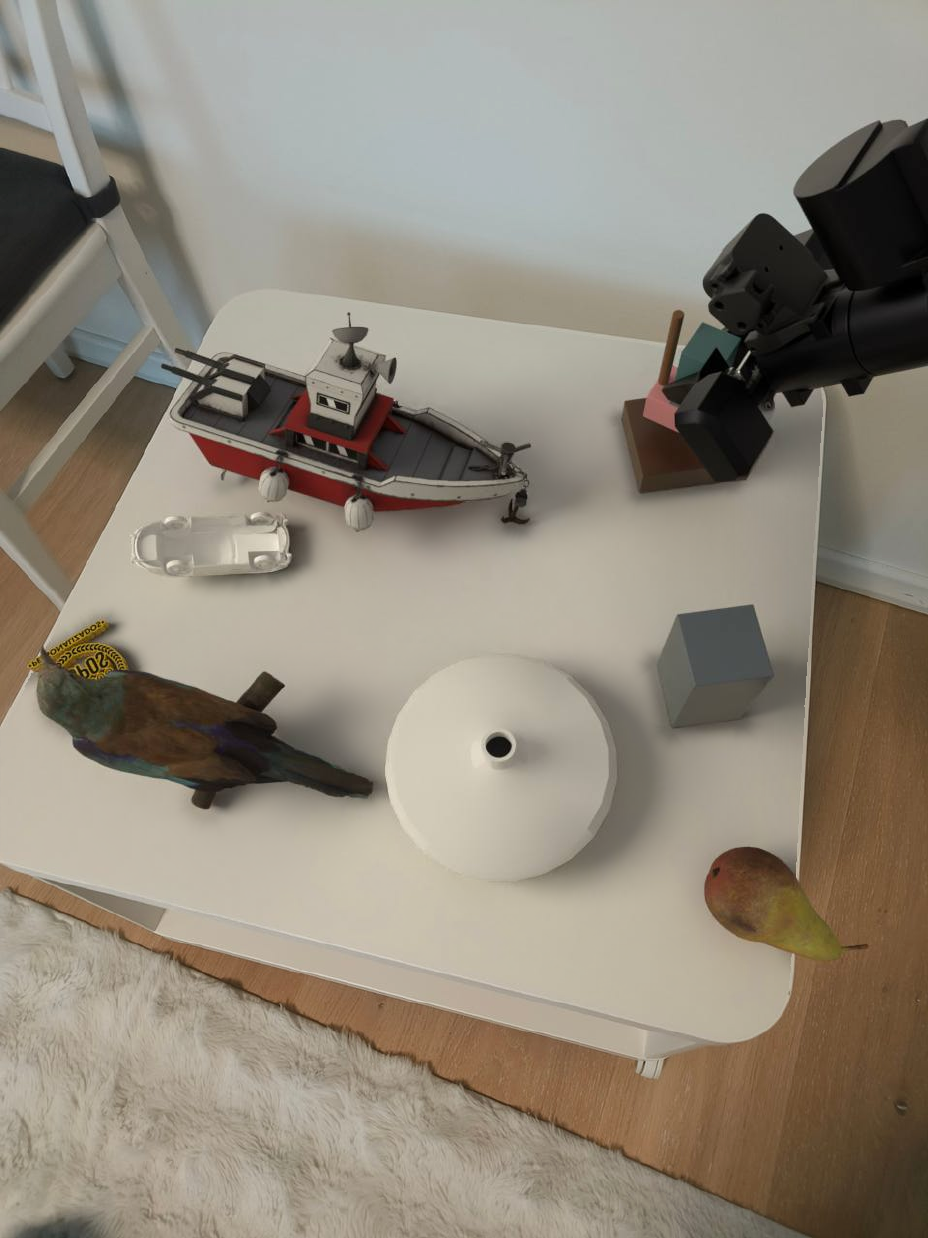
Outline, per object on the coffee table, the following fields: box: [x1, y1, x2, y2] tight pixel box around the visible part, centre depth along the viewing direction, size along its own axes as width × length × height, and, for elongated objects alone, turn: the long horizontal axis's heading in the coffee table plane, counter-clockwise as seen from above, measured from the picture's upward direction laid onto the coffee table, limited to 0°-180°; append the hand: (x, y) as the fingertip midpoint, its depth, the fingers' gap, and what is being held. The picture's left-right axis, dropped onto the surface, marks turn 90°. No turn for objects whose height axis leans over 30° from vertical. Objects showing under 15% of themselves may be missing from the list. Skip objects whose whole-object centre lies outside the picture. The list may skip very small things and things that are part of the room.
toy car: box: [129, 511, 292, 578], centre depth 67 cm, size 5×12×4 cm, turn 99°
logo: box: [27, 619, 130, 680], centre depth 65 cm, size 7×1×8 cm
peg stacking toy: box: [643, 309, 741, 433], centre depth 62 cm, size 6×4×10 cm, turn 57°
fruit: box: [703, 846, 870, 963], centre depth 53 cm, size 6×6×12 cm
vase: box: [384, 653, 618, 882], centre depth 57 cm, size 16×16×7 cm
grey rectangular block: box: [656, 603, 775, 729], centre depth 58 cm, size 5×5×9 cm
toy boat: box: [160, 312, 532, 532], centre depth 65 cm, size 13×30×17 cm, turn 73°
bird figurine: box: [36, 645, 374, 811], centre depth 57 cm, size 13×10×20 cm
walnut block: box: [621, 397, 716, 494], centre depth 69 cm, size 8×8×2 cm
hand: (676, 377), depth 63 cm, fingers closed on peg stacking toy, 3 cm apart
